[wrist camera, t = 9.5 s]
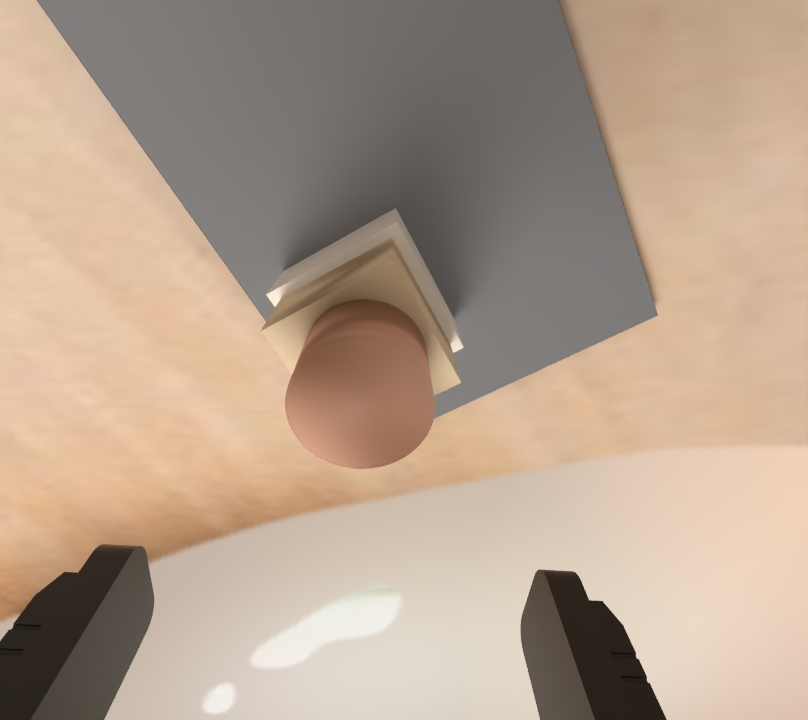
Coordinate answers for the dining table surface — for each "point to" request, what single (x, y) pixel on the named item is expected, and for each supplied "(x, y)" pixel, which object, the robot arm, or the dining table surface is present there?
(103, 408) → the dining table surface
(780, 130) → the dining table surface
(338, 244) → the tower base block
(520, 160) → the mat
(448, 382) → the tower top block
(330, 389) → the terracotta cylinder
